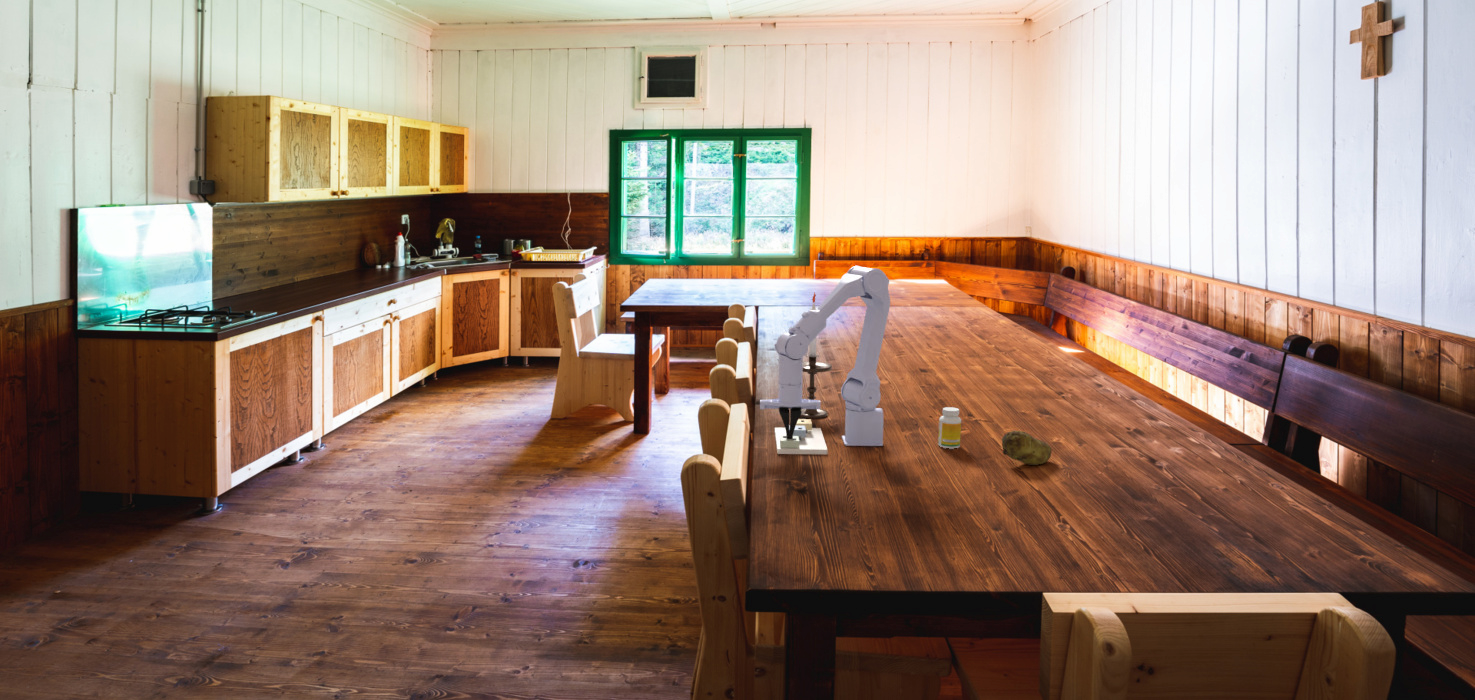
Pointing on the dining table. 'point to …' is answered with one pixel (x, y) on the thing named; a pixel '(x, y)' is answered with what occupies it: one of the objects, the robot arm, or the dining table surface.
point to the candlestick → (812, 369)
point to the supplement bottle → (949, 428)
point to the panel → (803, 442)
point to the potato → (1025, 448)
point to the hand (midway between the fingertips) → (789, 437)
